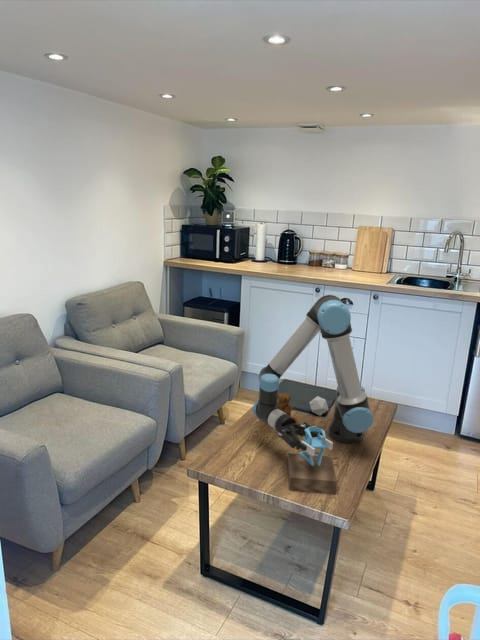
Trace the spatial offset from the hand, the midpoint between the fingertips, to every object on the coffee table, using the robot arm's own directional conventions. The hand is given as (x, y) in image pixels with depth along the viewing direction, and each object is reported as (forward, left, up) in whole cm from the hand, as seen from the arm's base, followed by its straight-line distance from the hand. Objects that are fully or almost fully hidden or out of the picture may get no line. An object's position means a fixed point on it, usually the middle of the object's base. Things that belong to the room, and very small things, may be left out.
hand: (323, 449), depth 163 cm
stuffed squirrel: (+13, -48, -15) cm, 52 cm away
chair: (+3, -4, -7) cm, 8 cm away
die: (-5, -60, -15) cm, 62 cm away
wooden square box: (+3, -4, -14) cm, 15 cm away
